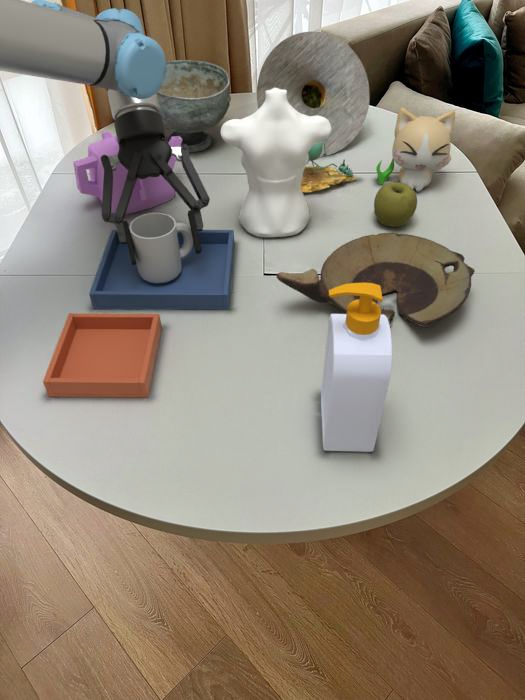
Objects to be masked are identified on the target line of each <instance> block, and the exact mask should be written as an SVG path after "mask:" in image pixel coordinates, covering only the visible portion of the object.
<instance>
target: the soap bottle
mask: <svg viewBox="0 0 525 700" xmlns="http://www.w3.org/2000/svg"><path fill="white" fill-rule="evenodd" d="M341 295H355V296H360V299H358V300H355V301H352V302H351V303H350V304H349V305H348V308H347V314H344V313H330V314H329V318H328V322H327V323H328V324H327V332H326V333H327V334H326V342H325V352H324V361H323V371H322V380H321V381H322V382H321V390H320V411H321V412H320V413H321V431H322V449H323V451H326V452H363V453H364V452H365V453H367V452H369V453H372V452H373V451H374V449H375V446H376V442H377V437H378V433H379V429H380V425H381V420H382V415H383V411H384V407H385V402H386V399H387V394H388V390H389V387H390V386H389V385H390V382H391V376H392V368H393V340H392V332H391V325H390V321H389V322H388V319H387V317H386V316H385V315H381V310H382V308H381V306H380V305H379V304H378V303H375V302H373V301H372V299H376V300H377V302H380V303H383V300H384V299H383V295H382V293H381V287H380V285H377V284H374V283H351V284H344V285H341V286H338V287H335V288H333V289H331V290H329V296H330V298H331V297H336V296H341Z"/></svg>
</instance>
